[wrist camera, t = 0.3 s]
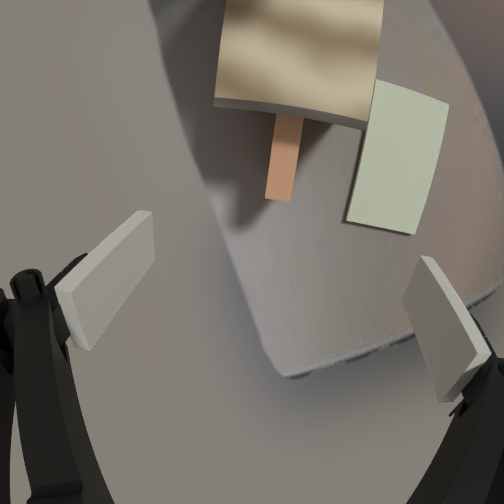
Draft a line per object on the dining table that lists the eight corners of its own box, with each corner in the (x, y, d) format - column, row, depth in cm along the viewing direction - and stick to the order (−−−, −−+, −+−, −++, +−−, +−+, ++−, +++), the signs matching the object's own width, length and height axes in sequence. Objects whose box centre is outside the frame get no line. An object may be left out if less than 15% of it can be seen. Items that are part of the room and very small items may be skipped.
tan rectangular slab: (288, 45, 28) (287, 29, 20) (310, 49, 28) (315, 33, 20) (271, 173, 36) (264, 198, 28) (290, 176, 36) (290, 202, 28)
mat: (374, 79, 28) (375, 79, 27) (446, 104, 27) (449, 104, 27) (345, 218, 37) (346, 220, 36) (412, 232, 36) (414, 234, 36)
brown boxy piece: (253, -9, 24) (235, -51, 14) (357, 7, 24) (385, -28, 13) (239, 103, 32) (213, 106, 21) (342, 119, 31) (365, 131, 21)
